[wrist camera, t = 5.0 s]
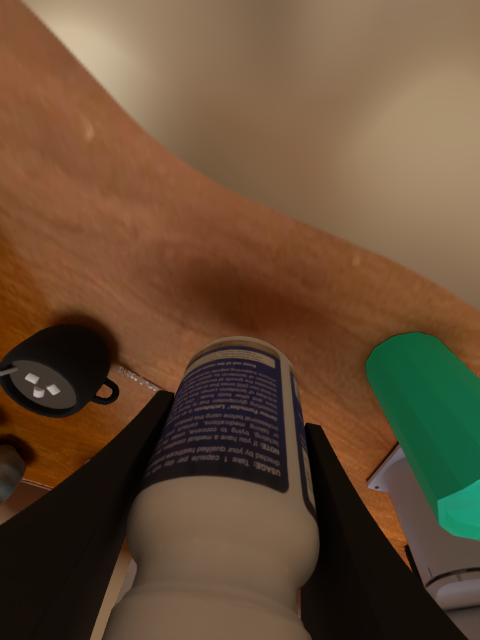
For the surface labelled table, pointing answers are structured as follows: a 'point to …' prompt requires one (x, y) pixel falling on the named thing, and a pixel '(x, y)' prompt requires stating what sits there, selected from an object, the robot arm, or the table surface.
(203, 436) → the pill bottle
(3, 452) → the sculpture
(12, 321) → the table surface
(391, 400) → the candle
